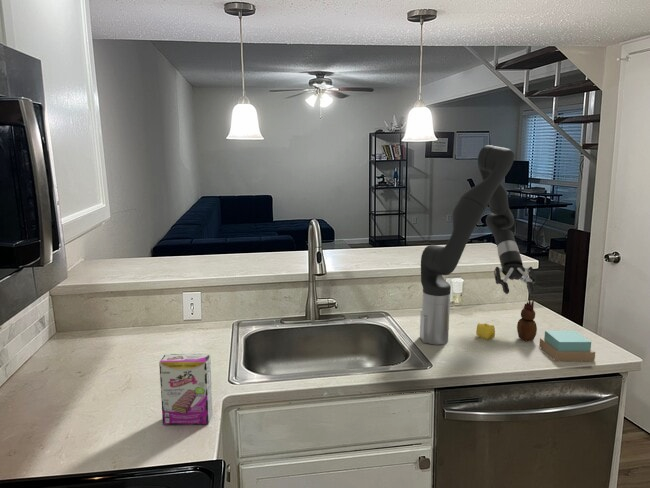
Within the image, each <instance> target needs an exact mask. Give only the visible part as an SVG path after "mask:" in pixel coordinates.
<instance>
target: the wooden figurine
mask: <svg viewBox="0 0 650 488" xmlns="http://www.w3.org/2000/svg"><path fill="white" fill-rule="evenodd" d="M534 302H535V300H534V299H532V301H531V299H529V301H527V302H526V303H524V305H523V308H522V309H521V311H520V318H519V320H518V322H517V324H516V330H517V335H518V338H519V340H522V341H524V342H530V343H531V342H532V341H534V339H535V338H536V336H537V334H538V332H537V331H538V328H537V323H536V321H535V318H536V311H535V310H534V308H535V307H534V304H535V303H534Z"/></svg>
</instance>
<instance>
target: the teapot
mask: <svg viewBox="0 0 650 488" xmlns="http://www.w3.org/2000/svg"><path fill="white" fill-rule="evenodd" d="M475 334H476V336H478V339H479V338H480V339H483V341H487V340H492V339H495V338H496V337H495V336H496V329H495V325H491V324H489V323H477V325H476V331H475Z"/></svg>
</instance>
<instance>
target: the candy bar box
mask: <svg viewBox="0 0 650 488" xmlns="http://www.w3.org/2000/svg"><path fill="white" fill-rule="evenodd" d="M158 364H159V377H160V378H159V380H160V393H161V394H160V395H161V397H160V398H161V399H160V401H161V412H162V413H161V414H162V415H161V416H162V425H163V426H168V425H169V426H173V425H174V426H176V425H177V426H178V425H179V426H181V425H182V426H183V425H184V426H185V425H186V426H188V425H209V424H210V421H211V418H212V416H213V395H212V394H213V393H212V368H211V367H212V366H211V354H210V353H164V355H163V357H162V358H161V359H160V360H159V363H158Z"/></svg>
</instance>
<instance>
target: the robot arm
mask: <svg viewBox="0 0 650 488" xmlns="http://www.w3.org/2000/svg"><path fill="white" fill-rule="evenodd" d="M514 160H515V152H514V151H513V150H512V149H510V148H508V147H507V148H506V147H501V146H495V145H491V144H490V145H489V144H486V145H484V146H482V148H481V149H480V150H479V153H478V156H477V165H478V167H477V168H478V169H479V173H480V175H481V178H482V181H481V182H479V183H478V184H475V185H474V186H472V187H471V188H469V189H468V190H466V191H465V192H463V194H462V195H461V197H460V198H459V199H458V201H457V202H456V205H455V207H454V208H453V211H452V220H451V221H452V234H451V236H450V237H449V240H448V241H447V243H446V245H445V246H440V245H436V244H430V245H427V246H426V247H425V248H424V250H423V251H422V253H421V257H420V283H421V286H422V308H421V311H420V319H419V320H420V321H419V338H420V340H421V341H422V343H423V344H430V345H436V346H437V345H438V346H439V345H444V344H447V343H448V342H449V335H450V334H449V329H450V312H451V311H450V309H451V290H452V289H451V288H452V287H451V284H450V283H449V282H448V281H446V279H445V278H444V277H443V276H449V275H451V274H452V273H453V272H454V270H455V269H456V268H457V266H458V264H459V262H460V261H461V260H460V259H461V257H462V254H463V252H464V250H465V249H466V246H467V244H468V241H469V239H470V237H471V236H472V233H473V231H474V230H475V228H476V226H477V224H478V223H479V222H480V220H481V218H482V216H483V214H484V212H485V210H486V208H487V207H488V208H489V209H488V210H489V211H490V212H491V213H489V214H487V216H486V218H485V224H486V226H487V229H488V230H489V232H490V233H491V234H492V236H493V237H494V241H495V244H496V247H497V248H496V249H497V257H498V259H499V262H500V267H499V266H496V267H495V269H494V270H493V275H494V278H495V279H494V280H495V283H496V285H501V288H502V292H503V293H504V294H505V295H508V294H509V293H510V288H509V285H508V279H509V280H510V281H513V280H518V281H519V280H520V281H521V282H522V283H524V284H525V285H526V288H527V292H528V295H532V294H533V292H534V291H535V290H534V284H535V283H536V282H537V276H536V274H535V271H534V269H533V267H532V266H529V267H527V268H525V267H524V265H523V260H522V257H521V253H520V250H519V247H518V244H517V242H516V238H515V235H514V232H513V231H512V230H510V229H511V228H512V227H513V226H514V225H515V223H516V222H515V217H514V215H513V213H512V211H511V209H510V206H509V198H508V192H507V190H506V188H505V187H504V185H503V184H502V182H503V180H504V179H505V177H506V176H507V174H509V173H508V172H510V170H511V168H512V166H513V163H514ZM501 274H503V275H504V278H503V279H502V277H501Z"/></svg>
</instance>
